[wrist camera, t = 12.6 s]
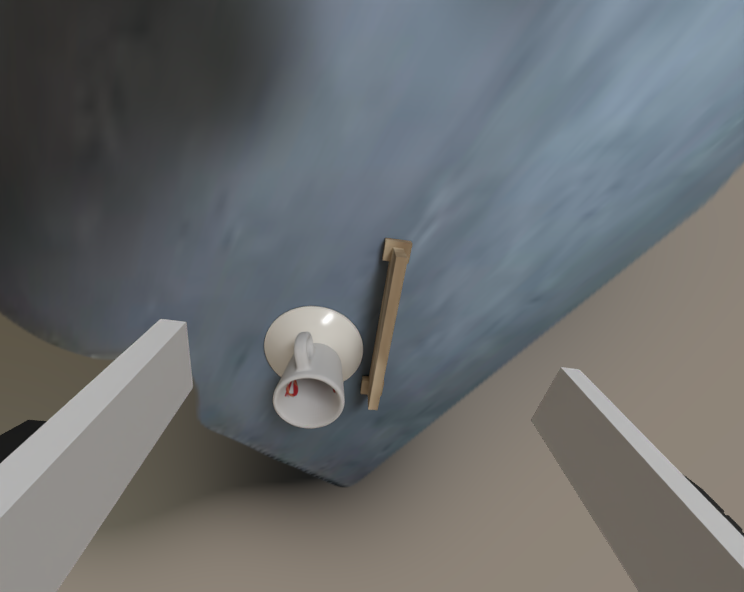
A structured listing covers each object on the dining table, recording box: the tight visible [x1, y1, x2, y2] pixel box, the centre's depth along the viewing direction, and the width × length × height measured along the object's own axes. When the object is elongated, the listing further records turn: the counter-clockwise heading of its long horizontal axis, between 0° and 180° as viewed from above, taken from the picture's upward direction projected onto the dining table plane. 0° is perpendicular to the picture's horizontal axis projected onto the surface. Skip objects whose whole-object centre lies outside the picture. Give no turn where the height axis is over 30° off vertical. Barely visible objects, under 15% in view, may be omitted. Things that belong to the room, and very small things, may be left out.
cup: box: [273, 332, 345, 428], centre depth 37 cm, size 11×8×8 cm
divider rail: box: [361, 238, 412, 410], centre depth 38 cm, size 3×22×4 cm, turn 172°
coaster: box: [264, 306, 363, 382], centre depth 41 cm, size 13×13×1 cm
